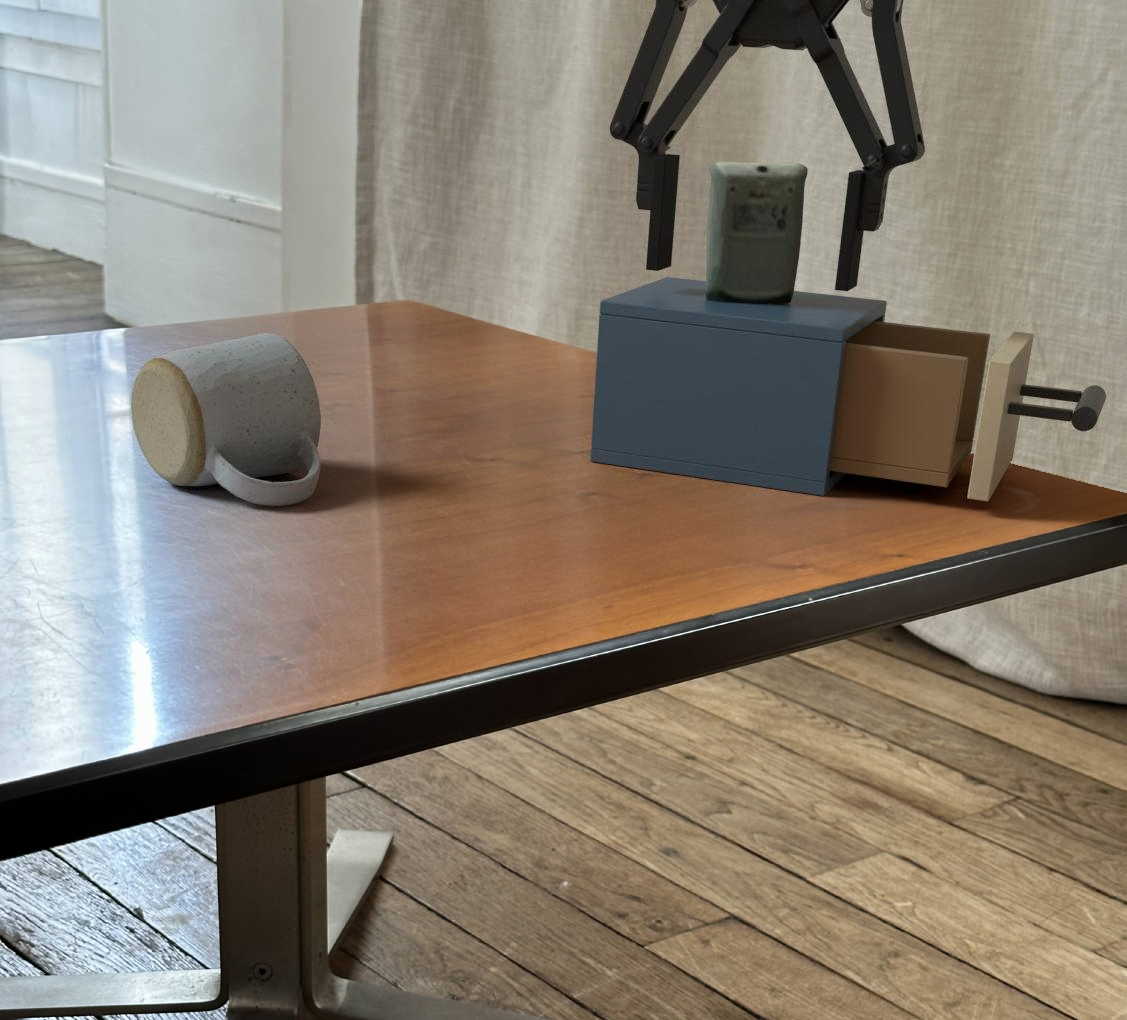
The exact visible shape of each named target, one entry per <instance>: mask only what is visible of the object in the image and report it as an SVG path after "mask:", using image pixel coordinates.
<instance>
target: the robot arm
mask: <svg viewBox="0 0 1127 1020" xmlns="http://www.w3.org/2000/svg"><path fill="white" fill-rule="evenodd" d="M697 2H698V0H655V8H654V10H653V12H652V15H651V18H650V20H649V23H648V26H647V28H646V31H645V33H644V36H643V38H642V41H641V44H640V46H639V49H638V52H637V54H636V57H635V59H634V62H633V65H632V67H631V69H630V72H629V74H628V77H627V80H626V82H625V85H624V88H623V90H622V93H621V96H620V99H619V101H618V103H617V106H616V109H615V112H614V114H613V117H612V119H611V122H610V125H609V133H610V136H611V137H612V138H613V139H614V140H617V141H621V142H623V143H625V144H628V145H630V146H631V147H633V148H634V150H636V153H637V155H638V162H637V163H638V166H637V177H636V179H637V180H636V194H635V195H636V196H635V202H636V206H637V210H640V211H641V210H642V211H649V219H648V220H649V222H648V234H647V235H648V236H647V248H646V263H645V270H646V271H653V272H659V271H662V270H664V269H668V268H670V267H672V261H673V250H674V249H673V247H674V237H675V236H674V234H675V222H676V210H677V197H678V196H677V195H678V185H679V184H678V183H679V174H680V172H679V171H680V159H681V155H680V154H675V153H674V154H673V153H667V152H668V151H669V150H670V149H671V148H672V147H671V146H670V144H671V143H672V142H673V140H674V139H675V138H676V136H677V135H678V133H679V132H680V130H681V128H682V127H683V126H684V125H685V123H686V121H687V120H688V118H689V117H690V116H691V114H692V113H693V111H694V110H695V109H696V107H697V106H698V104H699V103H700V101H701V100H702V99H703V97H704V95H705V94H706V93H707V92H708V90H709V88H710V87H711V85H712V84H713V83H714V81H715V80H716V78H717V77H718V76H719V74H720V73H721V71H722V69H723V68H724V67H725V65H726V64H727V63H728V61H729V60H730V59H731V58H732V57H733V56H734V55H735V54H736V53H737V52H738V51H739V49H740V47H741V46H742V48H753V49H754V48H756V49H766V48H770V47H775V48H778V49H781V50H788V51H805V50H806V49H807V51H808V53H809V56H810V57H811V60H812V61H813V62H814V64H815V65H816V67H817V69H818V71H819V74H820V76H821V77H822V79H823V82H824V83H825V86H826V88H827V90H828V92H829V95H830V96H831V98H832V101H833V103H834V105H835V107H836V110H837V112H838V114H839V116H840V118H841V120H842V122H843V124H844V127H845V129H846V131H847V133H848V135H849V138H850V139H851V142H852V144H853V147H854V148H855V150H856V153H857V155H858V157H859V159H860V160H861V163H862V165H863V166H862V167H861V169H857V170H853V171H849V172H848V176H847V185H846V193H845V200H844V201H845V202H844V211H843V218H842V227H841V234H840V242H839V252H838V259H837V268H836V278H835V283H834V284H835V285H834V291H840V292H849V291H851V290H852V289H854V288H857V286H858V280H859V274H860V273H859V272H860V266H861V265H860V264H861V256H862V248H863V241H864V233H865V232H873V233H874V232H876V231H878V230H880V227H881V225H882V223H883V221H884V215H885V207H886V199H887V192H888V185H889V178H890V174H891V172H892V171H893V170H894V169H896V168H897V167H900V166H902V165H903V166H904V165H906V164H909V163H914V162H917V161H919V160H921V159H922V157H923V156H924V155H925V152H926V145H925V140H924V135H923V130H922V124H921V119H920V113H919V108H918V104H917V103H918V102H917V99H916V93H915V88H914V87H915V86H914V82H913V78H912V72H911V67H910V62H909V55H908V52H907V46H906V41H905V35H904V31H903V25H902V14H903V6H904V0H859V2H860V9H861V12H862V13H863V15H865V16H867V17H869V18H871V30H872V37H873V41H874V42H873V43H874V48H875V52H876V58H877V62H878V67H879V72H880V73H879V74H880V77H881V82H882V89H883V92H884V93H883V94H884V97H885V98H884V99H885V102H886V108H887V113H888V118H889V123H890V128H891V129H890V130H891V133H892V139H893V144H889V145H888V144H887V142H886V140H885V138H884V135H883V133H882V131H881V129H880V126H879V125H878V121H877V120H876V118H875V116H874V113H873V111H872V109H871V107H870V105H869V103H868V101H867V98H866V95H865V94H864V91H863V89H862V87H861V86H860V83H859V81H858V79H857V77H856V74H855V72H854V70H853V68H852V66H851V64H850V62H849V59H848V57H847V55H846V52H845V48H844V47H845V46H844V45H843V43H842V40H841V38H840V35H839V34H838V31H837V30H836V28H835V25H834V23H833V22H834V21H835V19H837V17H838V15H839V14H840V13H841V12H842V10H843V9H844V8H845V6H846V5H847V4H848V3H849V2H850V0H712V2H713V4H714V6H715V8H716V10H717V12H718V13H719V15H718V17H717V18H716V19H715V21H714V22H713V24H712V26H711V27H710V28H709V30H708V31H707V33H706V34H705V36H704V38H703V39H702V42H701V44H700V47H699V48H698V49H697V51H696V52H695V54H694V56H693V57H692V59H691V60H690V62H689V63H688V64H687V66H686V68H685V69H684V70H683V72H682V73H681V75H680V76H679V78H678V79H677V81H676V82H675V84H674V85H673V86H672V87H671V89H670V91H669V92H668V94H667V95H666V97H665V98H664V100H663V101H662V103H661V104H660V105H659V107H658V108H657V110H656V111H655V112H654V114H653V116H652V117H651V118H650V120H649V121H648V123H647V124H646V120H647V117H648V115H649V112H650V110H651V107H652V105H653V102H654V99H655V97H656V95H657V92H658V90H659V87H660V85H661V82H662V80H663V77H664V74H665V72H666V70H667V67H668V64H669V62H670V60H671V57H672V53H673V52H674V49H675V47H676V44H677V41H678V40H679V36H680V34H681V32H682V29H683V26H684V24H685V20H686V18H687V13H688V9H689V8H692V7H694V6H695V5H696V4H697Z"/></svg>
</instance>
